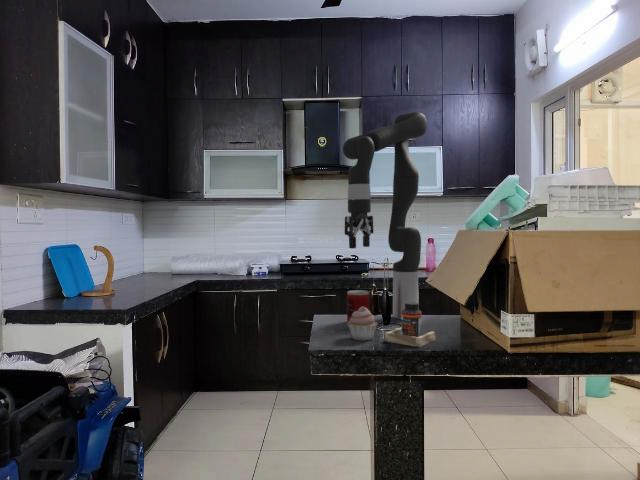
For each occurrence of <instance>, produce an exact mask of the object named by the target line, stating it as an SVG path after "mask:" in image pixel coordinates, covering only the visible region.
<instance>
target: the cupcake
mask: <svg viewBox="0 0 640 480" xmlns="http://www.w3.org/2000/svg"><path fill="white" fill-rule="evenodd" d="M346 324H347V326H348V328H349V331H350V335H351V338H352V339H353V340H355V341H361V342H367V340H368V341H371V340H373V338H374V335H375V330H376V328H377V326H378V322H376V321H375V316H374V315H373V314H372V313H371V311H370V309H369V310H368V309H367V308H365V307H363V306H362V307H361V308H359V309H358V311H356V312H353V314H352V316H351V318H350V322H348V321H347V323H346Z"/></svg>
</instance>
